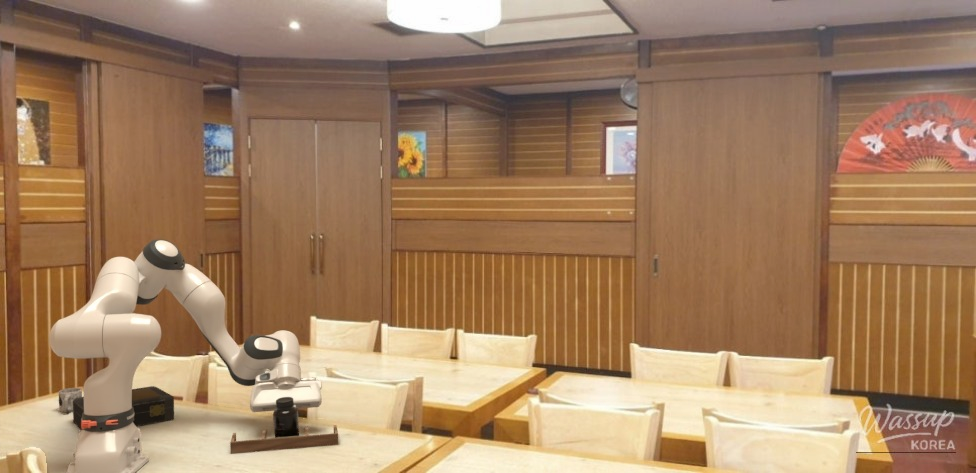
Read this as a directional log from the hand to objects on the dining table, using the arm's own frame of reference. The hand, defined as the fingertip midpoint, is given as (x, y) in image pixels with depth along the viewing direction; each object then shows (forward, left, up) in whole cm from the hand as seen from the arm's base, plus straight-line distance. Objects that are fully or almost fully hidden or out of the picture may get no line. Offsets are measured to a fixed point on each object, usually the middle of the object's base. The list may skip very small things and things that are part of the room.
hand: (286, 421), depth 211 cm
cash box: (+33, +50, -6) cm, 60 cm away
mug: (+49, +69, -5) cm, 85 cm away
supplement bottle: (-2, 0, -5) cm, 5 cm away
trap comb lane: (0, 0, -5) cm, 5 cm away
